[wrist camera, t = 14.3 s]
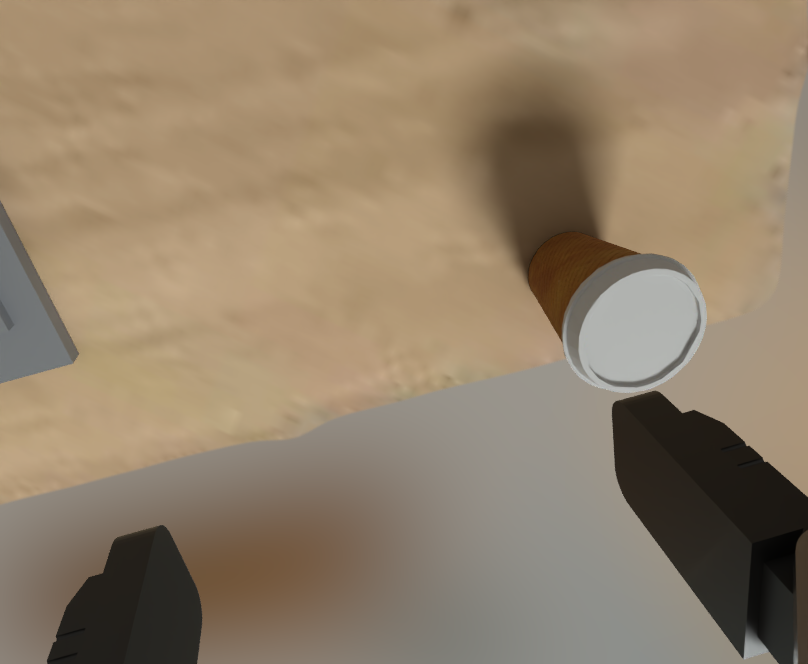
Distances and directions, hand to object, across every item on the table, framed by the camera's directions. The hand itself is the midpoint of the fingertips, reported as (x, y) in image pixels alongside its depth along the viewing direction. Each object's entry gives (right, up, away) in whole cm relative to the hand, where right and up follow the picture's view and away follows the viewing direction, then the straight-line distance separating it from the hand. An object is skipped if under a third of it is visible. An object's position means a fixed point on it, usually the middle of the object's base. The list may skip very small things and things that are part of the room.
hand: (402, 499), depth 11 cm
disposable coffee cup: (+13, +8, +40) cm, 42 cm away
